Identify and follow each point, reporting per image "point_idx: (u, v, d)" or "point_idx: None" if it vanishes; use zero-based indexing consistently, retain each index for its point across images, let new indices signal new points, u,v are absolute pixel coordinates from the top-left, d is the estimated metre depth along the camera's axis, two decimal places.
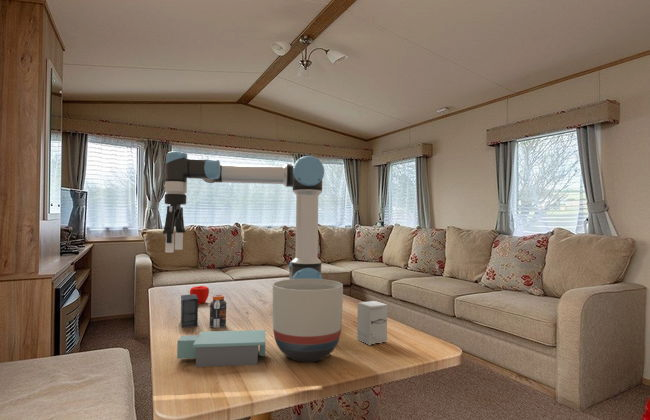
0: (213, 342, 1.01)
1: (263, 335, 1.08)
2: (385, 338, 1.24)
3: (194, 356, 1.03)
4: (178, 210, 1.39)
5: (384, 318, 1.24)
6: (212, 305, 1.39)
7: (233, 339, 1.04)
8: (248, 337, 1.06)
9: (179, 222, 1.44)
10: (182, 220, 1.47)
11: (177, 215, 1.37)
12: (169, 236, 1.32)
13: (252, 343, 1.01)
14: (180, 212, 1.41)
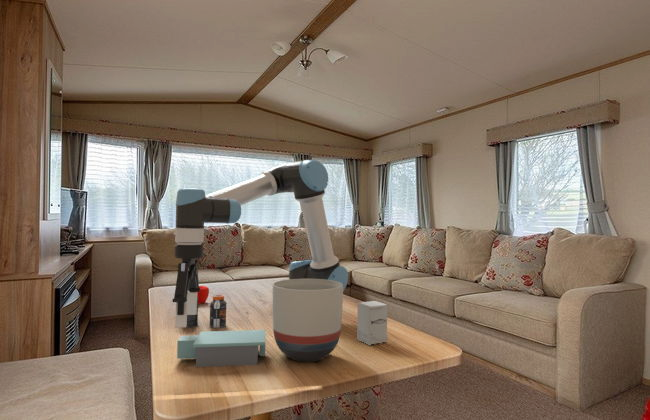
0: (213, 342, 1.01)
1: (263, 335, 1.08)
2: (385, 338, 1.24)
3: (194, 356, 1.03)
4: (192, 266, 1.04)
5: (384, 318, 1.24)
6: (212, 305, 1.39)
7: (233, 339, 1.04)
8: (248, 337, 1.06)
9: (193, 280, 1.09)
10: (196, 275, 1.12)
11: (191, 274, 1.02)
12: (181, 306, 0.97)
13: (252, 343, 1.01)
14: (195, 268, 1.06)
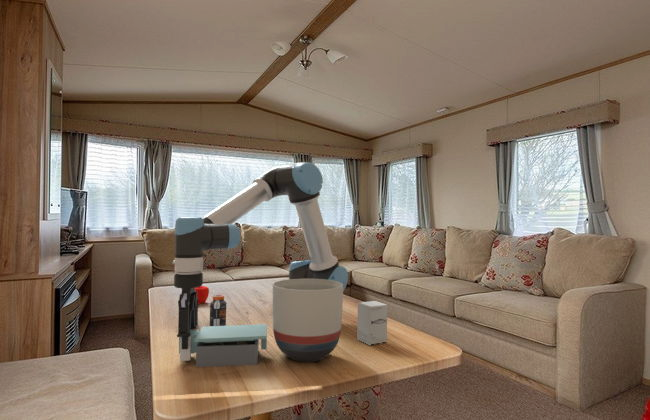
0: (214, 336, 1.01)
1: (264, 329, 1.08)
2: (385, 338, 1.24)
3: None
4: (192, 297, 1.03)
5: (384, 318, 1.24)
6: (212, 305, 1.39)
7: (235, 334, 1.04)
8: (249, 331, 1.06)
9: (191, 312, 1.07)
10: (195, 308, 1.10)
11: (192, 306, 1.03)
12: (185, 340, 1.01)
13: (253, 337, 1.02)
14: (194, 295, 1.06)
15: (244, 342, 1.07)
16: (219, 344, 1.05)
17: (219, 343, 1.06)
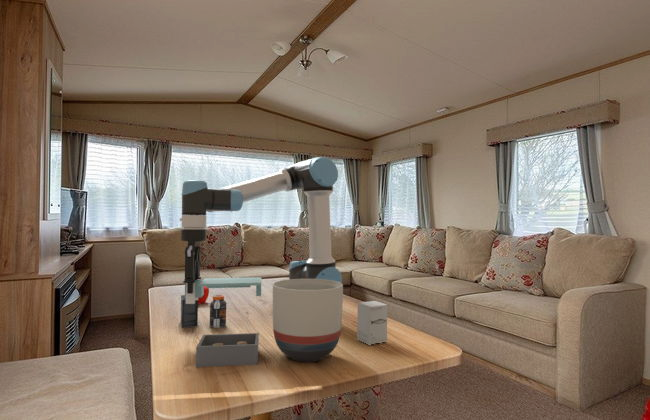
0: (216, 283, 1.17)
1: (259, 279, 1.24)
2: (385, 338, 1.24)
3: (199, 296, 1.19)
4: (197, 249, 1.19)
5: (384, 318, 1.24)
6: (212, 305, 1.39)
7: (233, 281, 1.20)
8: (246, 280, 1.22)
9: (196, 263, 1.23)
10: (199, 262, 1.26)
11: (196, 257, 1.19)
12: (190, 286, 1.16)
13: (249, 284, 1.17)
14: (199, 249, 1.22)
15: (244, 342, 1.07)
16: (219, 344, 1.05)
17: (219, 343, 1.06)
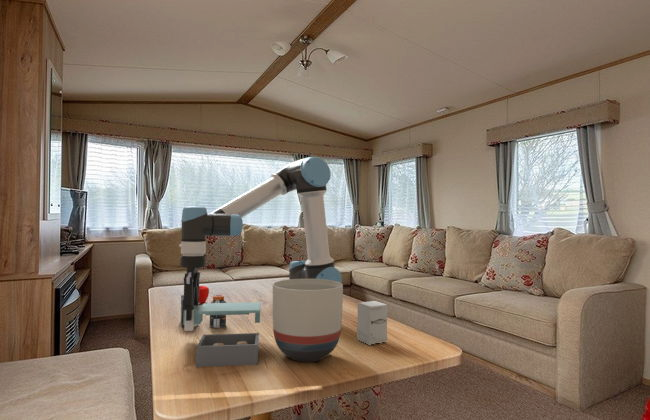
0: (214, 310, 1.17)
1: (258, 306, 1.23)
2: (385, 338, 1.24)
3: (198, 322, 1.18)
4: (196, 276, 1.19)
5: (384, 318, 1.24)
6: None
7: (232, 308, 1.19)
8: (245, 306, 1.22)
9: (195, 289, 1.22)
10: (198, 287, 1.25)
11: (195, 283, 1.18)
12: (189, 313, 1.16)
13: (248, 311, 1.17)
14: (198, 275, 1.22)
15: (244, 342, 1.07)
16: (219, 344, 1.05)
17: (220, 343, 1.06)
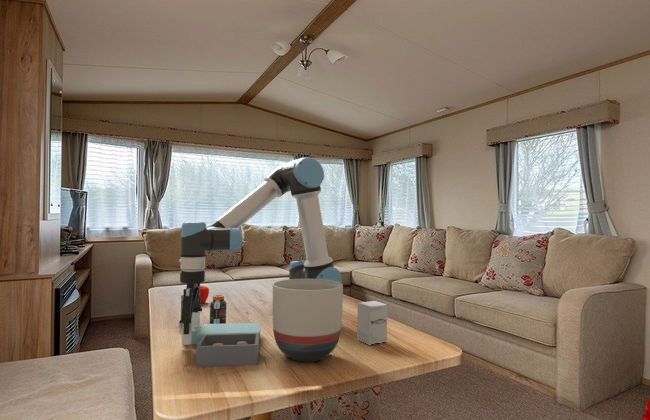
0: (214, 332, 1.17)
1: (258, 327, 1.23)
2: (385, 338, 1.24)
3: None
4: (196, 290, 1.19)
5: (384, 318, 1.24)
6: (212, 305, 1.39)
7: (232, 330, 1.19)
8: (244, 328, 1.22)
9: (196, 301, 1.24)
10: (199, 297, 1.27)
11: (195, 297, 1.17)
12: (186, 326, 1.12)
13: None
14: (198, 291, 1.22)
15: (244, 342, 1.07)
16: (219, 344, 1.05)
17: (220, 343, 1.06)
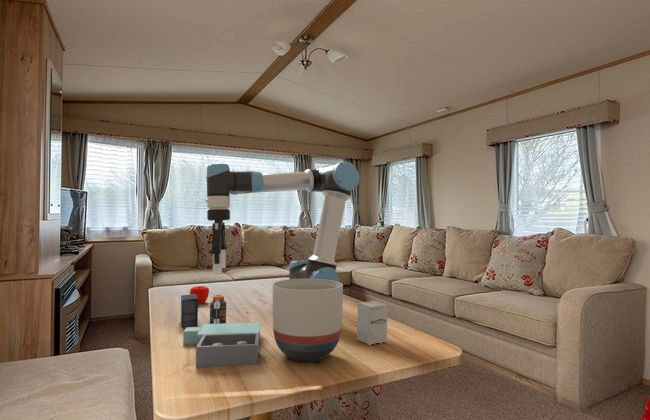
0: (214, 332, 1.17)
1: (258, 327, 1.23)
2: (385, 338, 1.24)
3: None
4: (223, 227, 1.28)
5: (384, 318, 1.24)
6: (212, 305, 1.39)
7: (232, 330, 1.19)
8: (244, 328, 1.22)
9: (222, 239, 1.34)
10: (224, 236, 1.37)
11: (222, 232, 1.26)
12: (217, 256, 1.21)
13: None
14: None
15: (244, 342, 1.07)
16: (218, 344, 1.05)
17: (219, 343, 1.06)
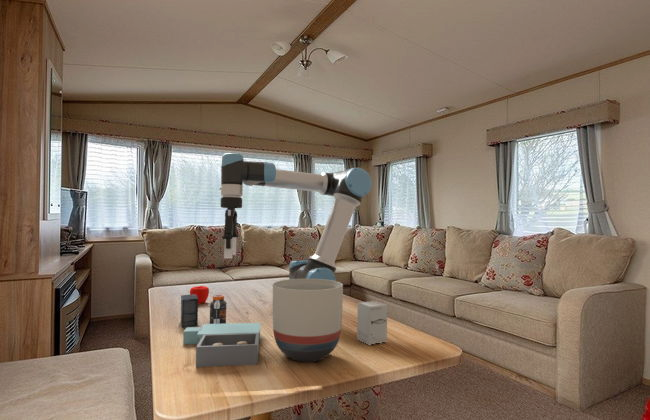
0: (214, 332, 1.17)
1: (258, 327, 1.23)
2: (385, 338, 1.24)
3: None
4: (235, 214, 1.33)
5: (384, 318, 1.24)
6: (212, 305, 1.39)
7: (232, 330, 1.19)
8: (244, 328, 1.22)
9: (233, 226, 1.39)
10: (235, 224, 1.42)
11: (234, 219, 1.31)
12: (228, 241, 1.26)
13: None
14: None
15: (244, 342, 1.07)
16: (218, 344, 1.05)
17: (219, 343, 1.05)
